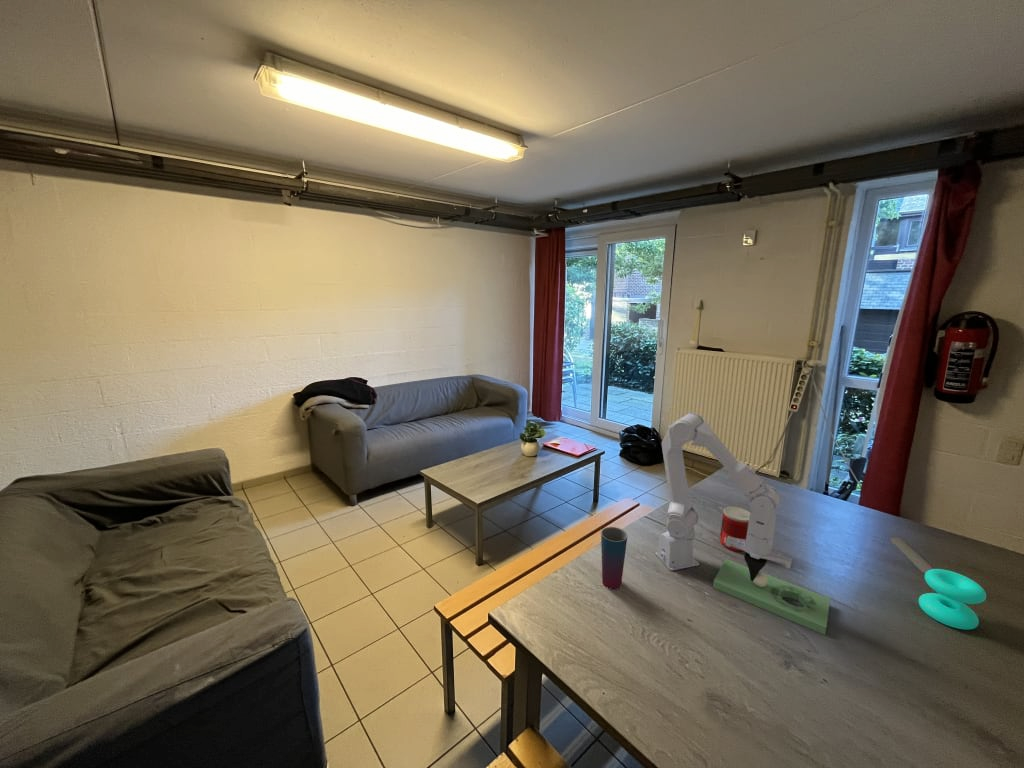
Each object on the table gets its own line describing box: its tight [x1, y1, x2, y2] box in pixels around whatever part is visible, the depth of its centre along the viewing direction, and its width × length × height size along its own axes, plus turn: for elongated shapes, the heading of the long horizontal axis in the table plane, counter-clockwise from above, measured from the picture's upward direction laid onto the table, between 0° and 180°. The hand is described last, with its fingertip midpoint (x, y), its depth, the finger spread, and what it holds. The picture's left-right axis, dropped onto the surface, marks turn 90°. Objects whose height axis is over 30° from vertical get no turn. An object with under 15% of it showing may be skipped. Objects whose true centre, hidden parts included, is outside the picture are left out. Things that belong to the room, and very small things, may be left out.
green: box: [712, 558, 831, 636], centre depth 105 cm, size 24×12×2 cm, turn 49°
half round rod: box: [889, 537, 935, 574], centre depth 118 cm, size 4×20×2 cm, turn 164°
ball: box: [753, 571, 768, 587], centre depth 106 cm, size 4×4×4 cm
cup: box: [600, 526, 628, 590], centre depth 109 cm, size 7×7×15 cm
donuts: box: [918, 568, 987, 631], centre depth 97 cm, size 10×10×10 cm
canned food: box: [719, 506, 751, 552], centre depth 125 cm, size 8×8×11 cm
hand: (753, 579), depth 107 cm, fingers closed, pressing on ball
